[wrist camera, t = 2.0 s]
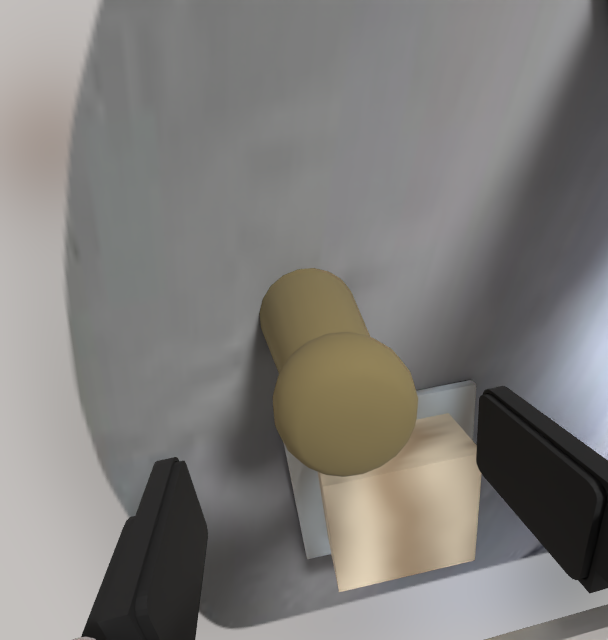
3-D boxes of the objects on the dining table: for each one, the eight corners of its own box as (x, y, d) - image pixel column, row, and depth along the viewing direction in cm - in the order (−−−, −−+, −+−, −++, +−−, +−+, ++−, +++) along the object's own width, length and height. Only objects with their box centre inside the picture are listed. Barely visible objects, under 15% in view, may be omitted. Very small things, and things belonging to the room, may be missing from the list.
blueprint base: (471, 379, 24) (516, 420, 20) (463, 516, 29) (498, 572, 25) (279, 417, 23) (283, 468, 19) (306, 552, 28) (314, 615, 24)
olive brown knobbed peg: (348, 361, 22) (424, 503, 12) (256, 358, 21) (256, 508, 11) (363, 271, 20) (469, 352, 10) (262, 264, 19) (268, 344, 9)
